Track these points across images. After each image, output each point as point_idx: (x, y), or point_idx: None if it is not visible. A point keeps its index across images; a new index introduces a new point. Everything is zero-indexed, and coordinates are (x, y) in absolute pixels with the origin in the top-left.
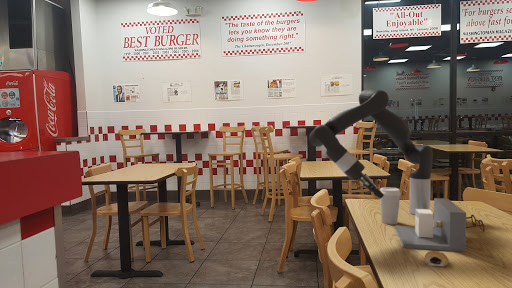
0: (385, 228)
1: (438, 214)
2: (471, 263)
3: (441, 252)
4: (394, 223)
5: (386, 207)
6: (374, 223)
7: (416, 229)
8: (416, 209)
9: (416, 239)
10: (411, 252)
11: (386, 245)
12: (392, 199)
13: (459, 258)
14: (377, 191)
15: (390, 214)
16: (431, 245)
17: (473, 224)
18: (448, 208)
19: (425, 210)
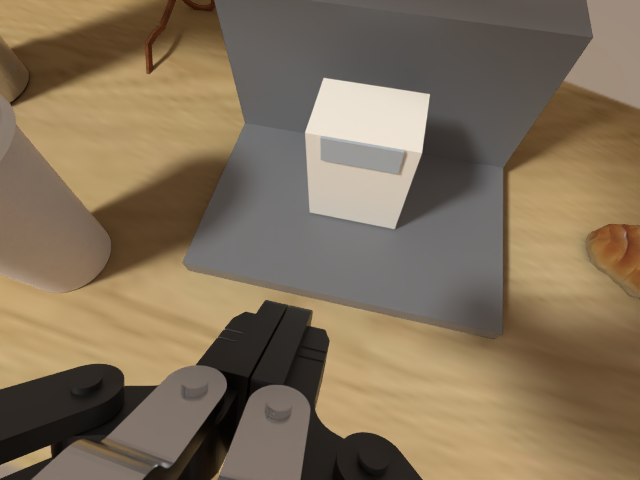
0: (170, 313)
1: (323, 68)
2: (618, 169)
3: (626, 229)
4: (109, 241)
5: (31, 239)
6: (58, 343)
7: (340, 207)
8: (322, 133)
9: (425, 250)
10: (553, 326)
11: (468, 415)
12: (19, 173)
13: (576, 182)
14: (316, 398)
15: (78, 239)
16: (502, 223)
17: (195, 8)
18: (493, 16)
19: (350, 101)
